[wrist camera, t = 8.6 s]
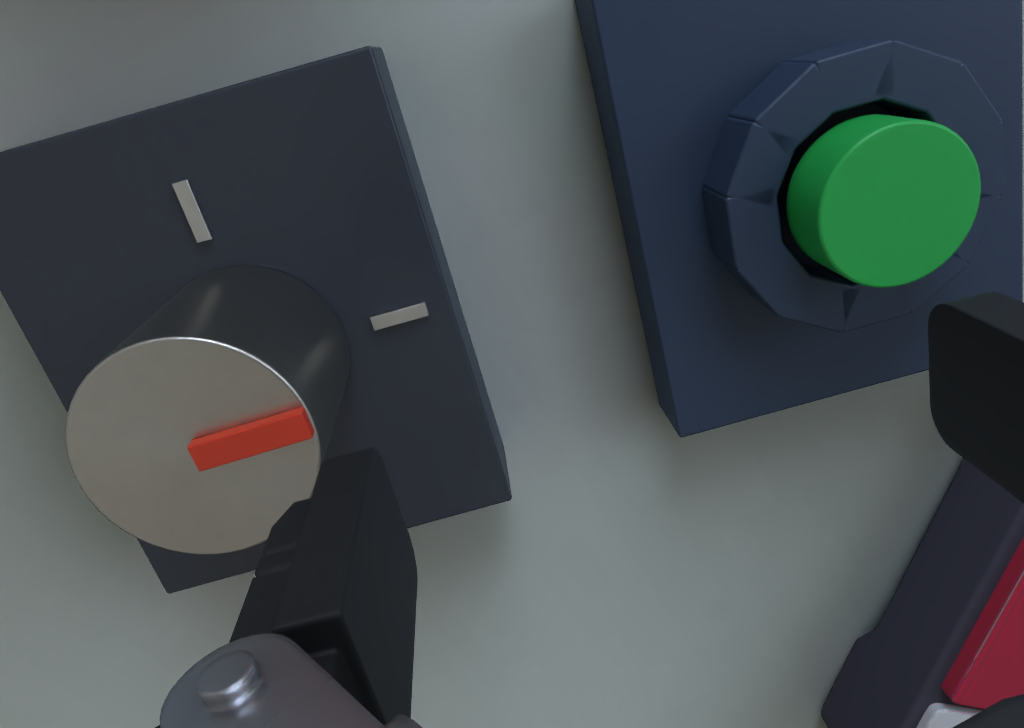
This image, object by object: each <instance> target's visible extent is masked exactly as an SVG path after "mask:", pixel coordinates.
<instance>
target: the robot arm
mask: <svg viewBox="0 0 1024 728" xmlns="http://www.w3.org/2000/svg"><path fill="white" fill-rule="evenodd" d="M928 348H929V379H930V406H931V413H932V417H933V420H934V423H935V426H936V428H937V430H938V432H939V434H940V435H941V437H942V439H943V440H944V441H945V442H946V444H947V445H948V446H949V447H950V448H952V449H953V450H954V451H955V452H957V453H958V454H959V455H961V456H962V457H963V458H965V459H966V460H967V461H969V462H970V463H971V464H972V465H974V466H975V467H976V468H978V469H979V470H980V471H982V472H983V473H984V474H986V475H987V476H988V477H989V478H991V479H992V480H993V481H995V482H996V483H997V484H999V485H1000V486H1001V487H1003V488H1004V489H1005V490H1006V491H1008V492H1009V493H1010V494H1012V495H1013V496H1014V497H1016V498H1017V499H1018V500H1020V501H1021V502H1022V503H1023V504H1024V303H1023V302H1021V301H1019V300H1016V299H1014V298H1011V297H1009V296H1007V295H1004V294H1002V293H999V292H996V291H989V292H985V293H981V294H978V295H974V296H970V297H966V298H962V299H958V300H954V301H950V302H946V303H942V304H938V305H936V306H935V307H934V308H933V309H932V311H931V312H930V315H929V319H928ZM255 574H256V577H255V578H253V579H252V582H251V585H250V588H249V590H248V593H247V596H246V598H245V601H244V604H243V607H242V609H241V612H240V615H239V617H238V620H237V623H236V626H235V628H234V631H233V634H232V636H231V639H230V642H229V643H228V644H226V645H224V646H222V647H220V648H218V649H216V650H215V651H213V652H211V653H210V654H208V655H207V656H205V657H204V658H202V659H201V660H200V661H198V662H197V663H196V664H195V665H193V666H192V667H191V668H190V669H189V670H188V671H187V672H186V673H185V674H184V675H183V676H182V677H181V678H180V679H179V680H178V681H177V683H176V684H175V685H174V686H173V688H172V689H171V690H170V692H169V694H168V696H167V697H166V699H165V701H164V704H163V706H162V709H161V714H160V725H159V726H157V727H155V728H422V727H421V726H420V725H419V724H417V723H416V722H415V721H414V720H412V719H411V718H410V717H411V697H412V678H413V658H414V638H415V618H416V598H417V567H416V561H415V555H414V550H413V546H412V543H411V539H410V536H409V533H408V530H407V527H406V524H405V521H404V519H403V516H402V513H401V510H400V507H399V504H398V501H397V499H396V496H395V493H394V490H393V487H392V484H391V481H390V479H389V476H388V473H387V470H386V467H385V464H384V462H383V459H382V457H381V455H380V453H379V451H378V450H377V449H376V448H375V447H372V448H368V449H364V450H360V451H356V452H353V453H349V454H345V455H341V456H337V457H333V458H329V459H325V460H323V462H322V464H321V467H320V470H319V474H318V477H317V480H316V484H315V487H314V490H313V494H312V497H311V498H309V499H305V500H301V501H297V502H294V503H293V504H292V505H291V506H290V507H289V508H288V510H287V511H286V512H285V513H284V514H283V515H282V516H281V517H280V518H279V520H278V521H277V522H276V523H275V524H274V525H273V526H272V528H271V531H270V533H269V536H268V539H267V541H266V544H265V547H264V550H263V556H262V557H261V558H260V560H259V563H258V566H257V569H256V571H255ZM953 728H1024V694H1022V695H1018V696H1014V697H1010V698H1006V699H1002V700H1000V701H999V702H997V703H995V704H993V705H991V706H990V707H988V708H986V709H984V710H983V711H981V712H979V713H977V714H976V715H974V716H972V717H970V718H968V719H967V720H965V721H963V722H961V723H960V724H958V725H956V726H954V727H953Z"/></svg>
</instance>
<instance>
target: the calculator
mask: <svg viewBox="0 0 1024 728" xmlns="http://www.w3.org/2000/svg"><path fill="white" fill-rule="evenodd" d="M1022 694H1024V504H1023V503H1022V502H1021V501H1020V500H1018V499H1017V498H1016V497H1014V496H1013V495H1012V494H1010V493H1009V492H1008V491H1006V490H1005V489H1004V488H1003V487H1001V486H1000V485H999V484H997V483H996V482H995V481H993V480H992V479H991V478H989V477H988V476H987V475H986V474H984V473H983V472H982V471H980V470H979V469H978V468H976V467H975V466H974V465H972V464H971V463H970V462H969V461H967V460H966V459H965V458H964V460H963V462H962V464H961V466H960V468H959V470H958V472H957V474H956V476H955V478H954V479H953V481H952V483H951V485H950V487H949V489H948V491H947V493H946V495H945V497H944V499H943V501H942V503H941V505H940V507H939V509H938V511H937V513H936V515H935V517H934V518H933V520H932V522H931V524H930V526H929V528H928V530H927V532H926V534H925V536H924V538H923V540H922V542H921V544H920V546H919V548H918V550H917V552H916V554H915V556H914V558H913V559H912V561H911V563H910V565H909V567H908V569H907V571H906V573H905V575H904V577H903V579H902V581H901V583H900V585H899V587H898V589H897V591H896V593H895V595H894V597H893V599H892V600H891V602H890V604H889V606H888V608H887V610H886V612H885V614H884V616H883V618H882V620H881V622H880V624H879V625H878V627H877V628H876V629H875V630H873V631H871V632H869V633H867V634H866V635H864V636H862V637H860V638H858V639H857V641H856V643H855V645H854V646H853V648H852V650H851V652H850V654H849V656H848V658H847V660H846V662H845V664H844V666H843V668H842V670H841V672H840V674H839V676H838V678H837V680H836V682H835V684H834V686H833V688H832V690H831V692H830V694H829V696H828V698H827V700H826V702H825V704H824V706H823V708H822V711H821V715H822V718H823V720H824V721H825V723H826V725H827V726H828V728H953V727H954V726H956V725H958V724H960V723H961V722H963V721H965V720H967V719H968V718H970V717H972V716H974V715H976V714H977V713H979V712H981V711H983V710H984V709H986V708H988V707H990V706H991V705H993V704H995V703H997V702H999V701H1000V700H1002V699H1006V698H1010V697H1014V696H1018V695H1022Z"/></svg>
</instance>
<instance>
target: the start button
mask: <svg viewBox="0 0 1024 728" xmlns="http://www.w3.org/2000/svg"><path fill="white" fill-rule="evenodd" d="M980 195H981V181H980V173H979V168H978V164H977V162H976V159H975V157H974V155H973V153H972V151H971V150H970V148H969V146H968V145H967V144H966V143H965V141H964V140H963V139H962V138H961V137H960V136H959V135H958V134H956V133H955V132H954V131H952V130H951V129H949V128H947V127H946V126H943V125H941V124H938V123H936V122H931V121H927V120H920V119H912V118H905V117H897V116H890V115H880V114H871V115H863V116H858V117H854V118H851V119H848V120H845V121H843V122H841V123H839V124H837V125H835V126H834V127H832V128H831V129H829V130H828V131H826V132H825V133H824V134H822V135H821V136H820V137H819V138H818V139H817V140H816V141H815V142H814V143H813V144H812V145H811V146H810V147H809V148H808V149H807V151H806V152H805V153H804V155H803V156H802V158H801V159H800V161H799V163H798V164H797V166H796V168H795V170H794V173H793V175H792V178H791V181H790V184H789V188H788V193H787V203H786V209H787V219H788V224H789V228H790V230H791V233H792V236H793V237H794V239H795V241H796V243H797V244H798V246H799V247H800V248H801V250H802V251H803V252H804V253H805V254H806V255H807V256H809V257H810V258H811V259H813V260H814V261H816V262H818V263H819V264H821V265H823V266H825V267H827V268H829V269H830V270H832V271H834V272H836V273H838V274H839V275H841V276H843V277H845V278H847V279H849V280H850V281H852V282H854V283H857V284H860V285H863V286H868V287H874V288H888V287H896V286H901V285H905V284H908V283H911V282H914V281H916V280H918V279H921V278H923V277H925V276H927V275H928V274H930V273H931V272H933V271H935V270H936V269H937V268H939V267H940V266H941V265H942V264H944V263H945V262H946V261H947V260H948V259H949V258H950V257H951V256H952V255H953V254H954V253H955V251H956V250H957V249H958V248H959V247H960V245H961V244H962V242H963V241H964V240H965V238H966V236H967V234H968V233H969V231H970V229H971V227H972V225H973V222H974V220H975V217H976V214H977V211H978V207H979V202H980Z"/></svg>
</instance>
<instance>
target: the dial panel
mask: <svg viewBox="0 0 1024 728" xmlns="http://www.w3.org/2000/svg"><path fill="white" fill-rule="evenodd" d="M233 266H257V267H264V268H269V269H273V270H276V271H280V272H282V273H285V274H287V275H290V276H292V277H294V278H296V279H298V280H300V281H301V282H303V283H305V284H306V285H307V286H309V287H310V288H312V289H313V290H314V291H315V292H317V293H318V294H319V295H320V296H321V297H322V298H323V299H324V300H325V301H326V302H327V303H328V305H329V306H330V307H331V308H332V310H333V311H334V313H335V314H336V316H337V317H338V319H339V321H340V323H341V325H342V327H343V329H344V332H345V335H346V338H347V341H348V347H349V352H350V368H349V376H348V379H347V383H346V387H345V390H344V394H343V397H342V401H341V404H340V407H339V411H338V414H337V418H336V421H335V424H334V428H333V431H332V435H331V438H330V441H329V445H328V448H327V452H326V455H325V458H324V460H325V459H329V458H333V457H337V456H341V455H345V454H349V453H353V452H356V451H360V450H364V449H368V448H372V447H375V448H376V449H377V450H378V451H379V453H380V455H381V457H382V459H383V462H384V464H385V467H386V470H387V473H388V476H389V479H390V481H391V484H392V487H393V490H394V493H395V496H396V499H397V501H398V504H399V507H400V510H401V513H402V516H403V519H404V521H405V524H406V527H407V528H410V527H414V526H417V525H421V524H425V523H428V522H432V521H436V520H439V519H443V518H447V517H450V516H454V515H458V514H461V513H465V512H469V511H472V510H476V509H480V508H483V507H487V506H490V505H494V504H498V503H501V502H505V501H509V500H511V498H512V495H511V489H510V482H509V476H508V470H507V463H506V457H505V450H504V446H503V443H502V439H501V436H500V433H499V430H498V426H497V423H496V420H495V417H494V413H493V410H492V407H491V403H490V400H489V397H488V394H487V390H486V387H485V384H484V381H483V377H482V374H481V371H480V368H479V364H478V361H477V358H476V354H475V351H474V348H473V345H472V341H471V338H470V335H469V332H468V328H467V325H466V322H465V319H464V315H463V312H462V309H461V306H460V302H459V299H458V296H457V292H456V289H455V286H454V283H453V279H452V276H451V273H450V270H449V266H448V263H447V260H446V257H445V253H444V250H443V247H442V243H441V240H440V237H439V234H438V230H437V227H436V224H435V221H434V217H433V214H432V211H431V208H430V204H429V201H428V198H427V194H426V191H425V188H424V185H423V181H422V178H421V175H420V172H419V168H418V165H417V162H416V159H415V155H414V152H413V149H412V146H411V142H410V139H409V136H408V132H407V129H406V126H405V123H404V119H403V116H402V113H401V110H400V106H399V103H398V100H397V97H396V93H395V90H394V87H393V83H392V80H391V77H390V74H389V70H388V67H387V64H386V61H385V57H384V54H383V51H382V49H381V48H379V47H371V46H366V47H363V48H359V49H356V50H352V51H349V52H345V53H342V54H338V55H335V56H331V57H328V58H325V59H321V60H318V61H314V62H311V63H307V64H304V65H300V66H297V67H293V68H290V69H286V70H283V71H279V72H276V73H273V74H269V75H266V76H262V77H259V78H255V79H252V80H248V81H245V82H241V83H238V84H234V85H231V86H227V87H224V88H220V89H217V90H214V91H210V92H207V93H203V94H200V95H196V96H193V97H189V98H186V99H182V100H179V101H175V102H172V103H168V104H165V105H161V106H158V107H155V108H151V109H148V110H144V111H141V112H137V113H134V114H130V115H127V116H123V117H120V118H116V119H113V120H109V121H106V122H103V123H99V124H96V125H92V126H89V127H85V128H82V129H78V130H75V131H71V132H68V133H64V134H61V135H57V136H54V137H50V138H47V139H44V140H40V141H37V142H33V143H30V144H26V145H23V146H19V147H16V148H12V149H9V150H5V151H2V152H0V291H1V293H2V295H3V296H4V298H5V300H6V302H7V304H8V305H9V307H10V309H11V311H12V313H13V315H14V316H15V318H16V320H17V322H18V324H19V325H20V327H21V329H22V331H23V333H24V334H25V336H26V338H27V340H28V342H29V344H30V345H31V347H32V349H33V351H34V353H35V354H36V356H37V358H38V360H39V362H40V363H41V365H42V367H43V369H44V371H45V373H46V374H47V376H48V378H49V380H50V382H51V383H52V385H53V387H54V389H55V391H56V392H57V394H58V396H59V398H60V400H61V402H62V403H63V405H64V407H65V409H66V411H67V412H68V411H69V407H70V404H71V401H72V399H73V397H74V395H75V392H76V390H77V388H78V387H79V385H80V384H81V382H82V381H83V380H84V378H85V377H86V375H87V374H88V373H89V372H90V371H91V370H92V369H93V368H94V367H95V366H96V365H97V364H98V363H99V362H100V361H102V360H103V359H104V358H105V357H106V356H107V355H108V354H109V353H111V352H112V351H113V350H114V349H115V348H116V347H117V346H118V345H119V344H121V343H122V342H123V341H124V340H125V339H126V338H127V337H128V336H130V335H131V334H132V333H133V332H134V331H135V330H136V329H137V328H139V327H140V326H141V325H142V324H143V323H144V322H145V321H146V320H147V319H149V318H150V317H151V316H152V315H153V314H154V313H155V312H156V311H158V310H159V309H160V308H161V307H162V306H163V305H164V304H165V303H166V302H168V301H169V300H170V299H171V298H172V297H173V296H174V295H175V294H177V293H178V292H179V291H180V290H181V289H182V288H183V287H185V286H186V285H187V284H189V283H190V282H191V281H193V280H194V279H196V278H198V277H200V276H202V275H203V274H206V273H209V272H211V271H214V270H217V269H221V268H226V267H233ZM137 539H138V538H137ZM138 541H139V543H140V545H141V546H142V548H143V550H144V552H145V554H146V556H147V557H148V559H149V561H150V563H151V565H152V566H153V568H154V570H155V572H156V574H157V575H158V577H159V579H160V581H161V583H162V585H163V586H164V588H165V590H166V592H167V593H173V592H177V591H180V590H184V589H188V588H191V587H195V586H199V585H202V584H206V583H210V582H213V581H217V580H220V579H224V578H228V577H231V576H235V575H239V574H242V573H246V572H250V571H253V570H256V569H257V566H258V563H259V560H260V558H261V557H262V556H263V550H264V547H265V544H266V541H267V540H266V541H264V542H262V543H260V544H258V545H255V546H252V547H249V548H247V549H243V550H239V551H234V552H230V553H221V554H190V553H182V552H177V551H172V550H167V549H164V548H161V547H158V546H154V545H152V544H149V543H147V542H145V541H142V540H140V539H138Z"/></svg>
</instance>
